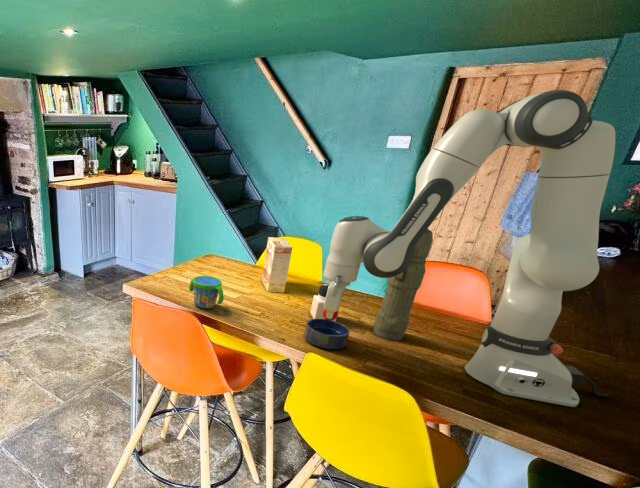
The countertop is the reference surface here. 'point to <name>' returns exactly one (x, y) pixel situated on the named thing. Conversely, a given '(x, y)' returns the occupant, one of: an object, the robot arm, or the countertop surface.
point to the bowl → (326, 333)
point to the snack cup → (206, 291)
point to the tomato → (332, 317)
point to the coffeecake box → (276, 264)
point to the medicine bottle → (320, 303)
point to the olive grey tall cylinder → (402, 293)
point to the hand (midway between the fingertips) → (330, 314)
